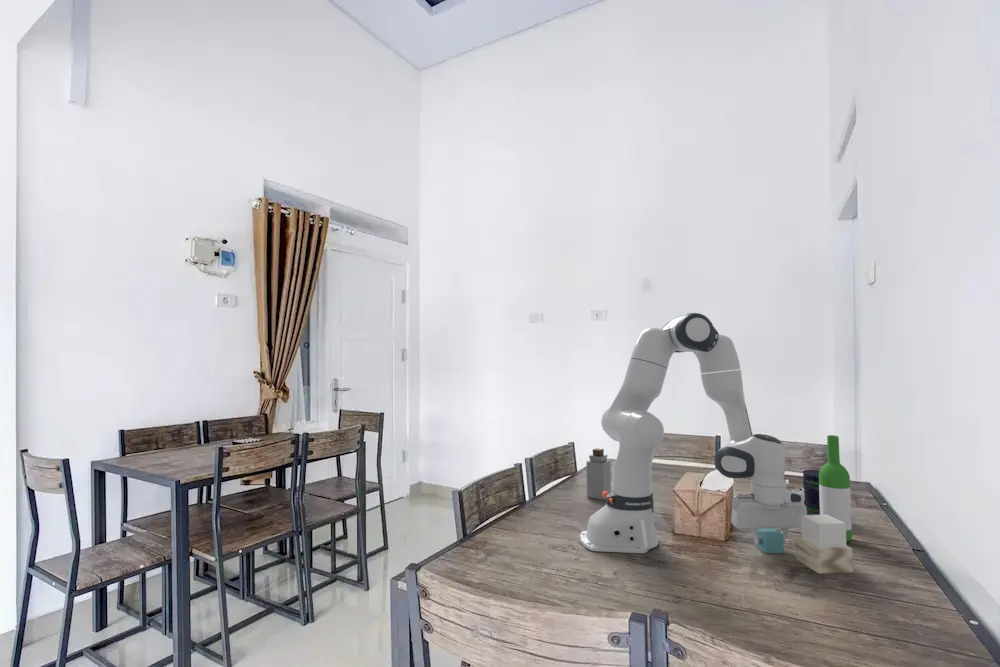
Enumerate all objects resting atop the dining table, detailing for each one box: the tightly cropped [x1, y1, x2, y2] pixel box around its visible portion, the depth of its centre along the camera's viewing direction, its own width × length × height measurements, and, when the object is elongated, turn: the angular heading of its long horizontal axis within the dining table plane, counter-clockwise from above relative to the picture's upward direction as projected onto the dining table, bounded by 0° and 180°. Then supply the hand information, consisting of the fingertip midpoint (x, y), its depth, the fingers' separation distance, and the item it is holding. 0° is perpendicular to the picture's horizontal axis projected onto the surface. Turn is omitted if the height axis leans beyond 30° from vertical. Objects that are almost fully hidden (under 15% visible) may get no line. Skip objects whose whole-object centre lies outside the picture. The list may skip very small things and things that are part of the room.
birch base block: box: [795, 536, 854, 574], centre depth 134 cm, size 9×9×6 cm
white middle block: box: [801, 515, 847, 548], centre depth 134 cm, size 7×7×6 cm
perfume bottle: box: [586, 447, 612, 501], centre depth 200 cm, size 7×7×18 cm
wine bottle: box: [819, 434, 853, 543], centre depth 153 cm, size 8×8×30 cm
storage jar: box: [802, 469, 820, 515], centre depth 170 cm, size 10×10×15 cm
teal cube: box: [755, 528, 785, 554], centre depth 145 cm, size 5×5×5 cm
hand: (769, 543), depth 145 cm, fingers closed on teal cube, 5 cm apart
